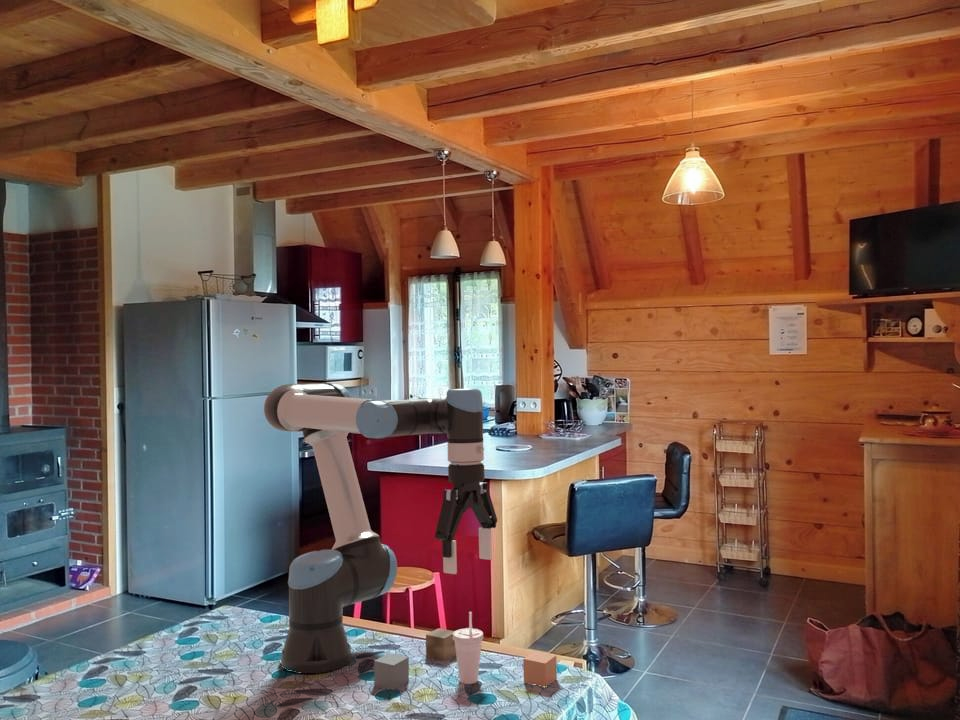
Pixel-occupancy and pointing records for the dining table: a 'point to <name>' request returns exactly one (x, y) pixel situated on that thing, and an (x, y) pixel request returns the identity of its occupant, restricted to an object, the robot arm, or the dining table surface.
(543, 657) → the terracotta block
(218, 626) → the dining table surface
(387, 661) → the grey cube
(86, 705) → the dining table surface
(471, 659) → the smoothie
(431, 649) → the walnut block
